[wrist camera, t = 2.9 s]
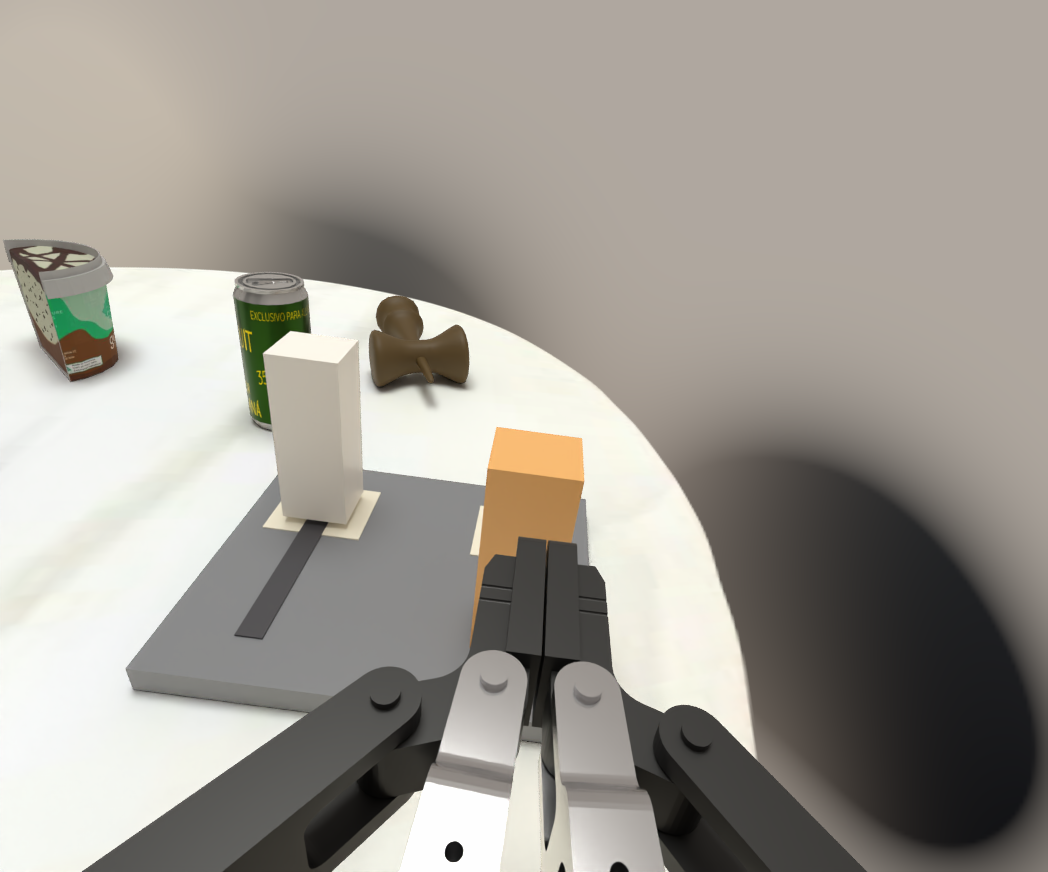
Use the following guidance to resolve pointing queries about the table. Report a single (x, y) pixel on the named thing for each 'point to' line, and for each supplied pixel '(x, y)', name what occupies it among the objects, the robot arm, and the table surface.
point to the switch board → (329, 599)
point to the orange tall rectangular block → (528, 493)
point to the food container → (67, 303)
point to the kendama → (414, 346)
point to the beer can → (266, 327)
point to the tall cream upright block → (316, 424)
